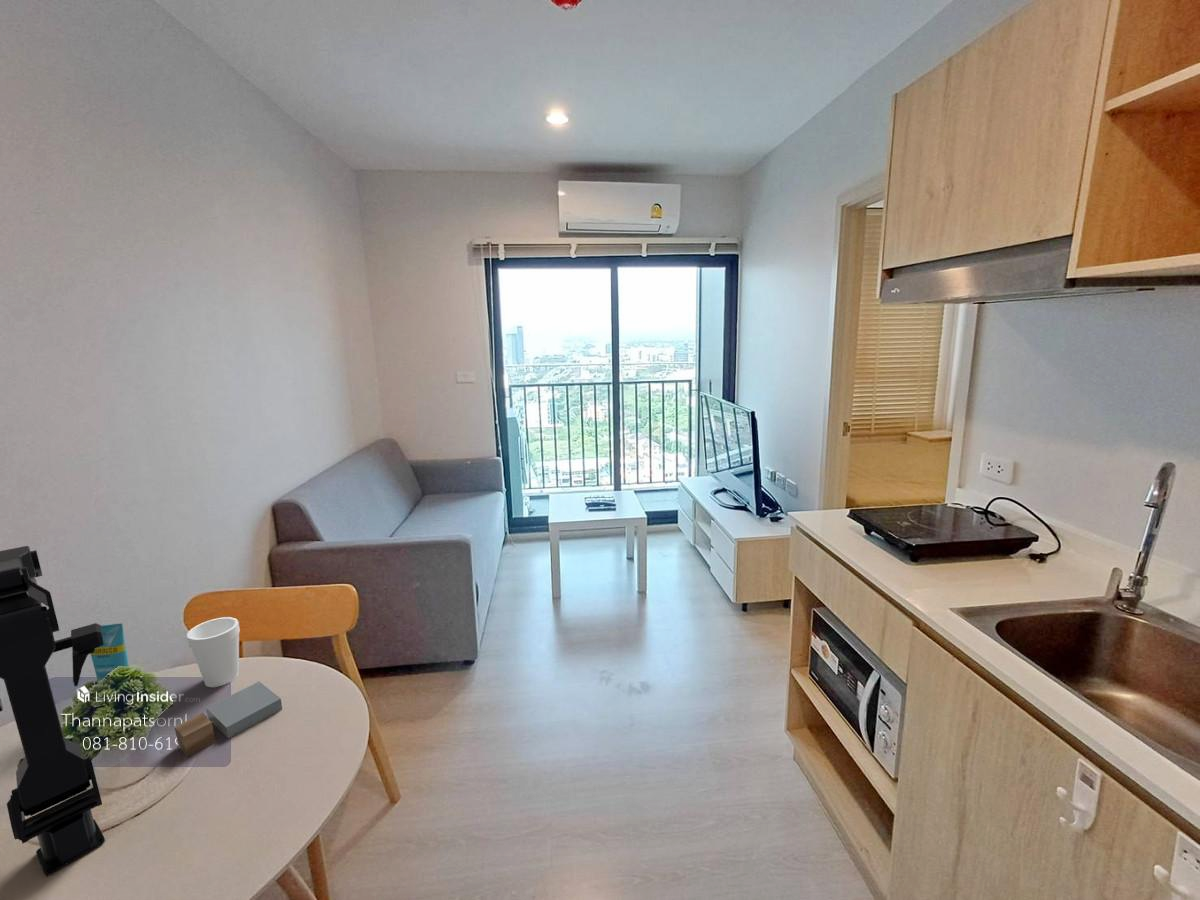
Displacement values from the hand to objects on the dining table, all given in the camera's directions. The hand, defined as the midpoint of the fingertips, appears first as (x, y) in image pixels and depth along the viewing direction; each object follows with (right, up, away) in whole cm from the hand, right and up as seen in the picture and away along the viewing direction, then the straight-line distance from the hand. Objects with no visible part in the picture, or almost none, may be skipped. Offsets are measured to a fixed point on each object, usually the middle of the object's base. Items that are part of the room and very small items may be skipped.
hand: (40, 697), depth 91 cm
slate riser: (+26, -11, +15) cm, 32 cm away
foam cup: (+13, -9, +27) cm, 31 cm away
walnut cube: (+23, -13, +7) cm, 27 cm away
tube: (-3, -11, +18) cm, 21 cm away
